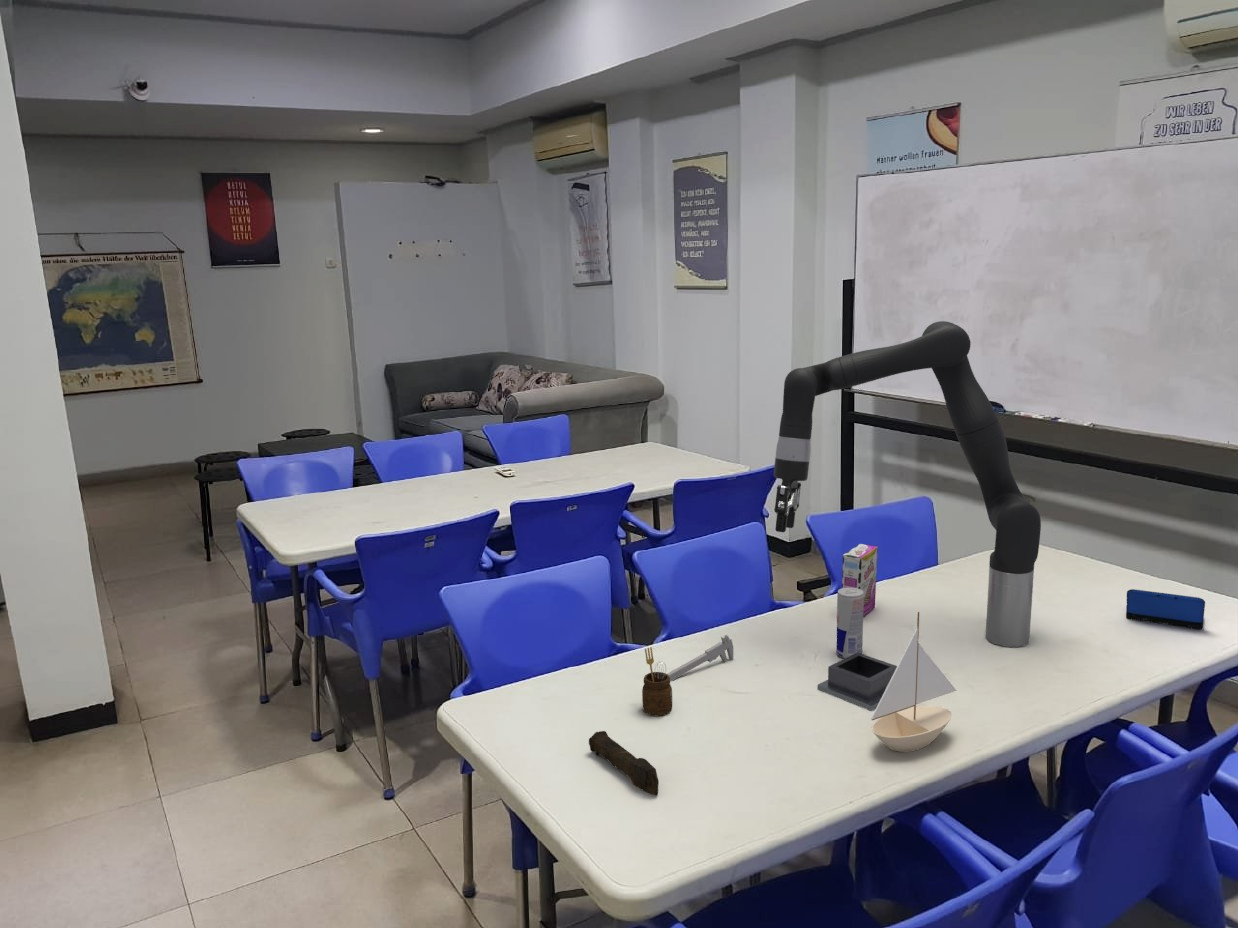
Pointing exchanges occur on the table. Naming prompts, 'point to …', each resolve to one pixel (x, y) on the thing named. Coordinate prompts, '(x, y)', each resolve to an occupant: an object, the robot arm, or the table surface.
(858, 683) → the dark grey square holder
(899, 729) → the toy sailboat
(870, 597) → the candy bar box
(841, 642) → the beverage can
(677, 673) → the caliper
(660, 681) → the utensil holder
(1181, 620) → the handheld game console
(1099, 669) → the table surface
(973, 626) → the table surface
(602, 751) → the hand tool
